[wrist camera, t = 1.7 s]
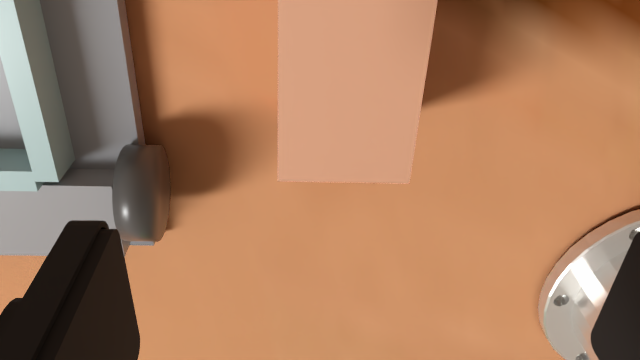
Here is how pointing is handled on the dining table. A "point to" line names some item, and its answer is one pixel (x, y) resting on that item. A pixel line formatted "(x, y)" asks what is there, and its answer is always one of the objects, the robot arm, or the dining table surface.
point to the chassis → (73, 127)
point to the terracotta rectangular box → (351, 88)
